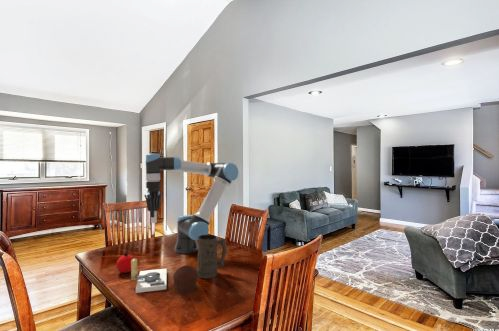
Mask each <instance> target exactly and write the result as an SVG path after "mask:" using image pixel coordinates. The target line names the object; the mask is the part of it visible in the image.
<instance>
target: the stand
mask: <svg viewBox="0 0 499 331" xmlns="http://www.w3.org/2000/svg"><path fill="white" fill-rule="evenodd" d="M151 272H158V273H160V279H158V280H156V281H152V282H147V281H145V280H144V278H143V279H137V282H136V285H135V294H138V293H146V292H154V291H155V292H157V291H163V290H167V280H168V279H167V268H158V269H157V268H156V269H149V270H140V271H139V274H138V276H139V275H146V274H148V273H151Z"/></svg>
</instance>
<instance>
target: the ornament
mask: <svg viewBox="0 0 499 331" xmlns="http://www.w3.org/2000/svg"><path fill="white" fill-rule="evenodd" d="M132 259H135V257H134V256H133V255H131V254H129V252H124V253H123V255H121V256H120V257H119V258H118V259H117V261H116V269H117V270H118V271H119V272H120V273H124V274H125V273H126V274H127V273H130V272H131V260H132Z"/></svg>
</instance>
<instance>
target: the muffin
mask: <svg viewBox="0 0 499 331" xmlns="http://www.w3.org/2000/svg"><path fill="white" fill-rule="evenodd" d="M172 276H173V282H174V287H175V291H176V292H177V293H178V294H183V295H184V294H191V293H192V292H194V291H195V289H197V283H198V282H197V281H198V278H199V277H198V272H197V268H194V267H193V266H191V265H183V266H179V268H178V269H176V271H175V272H174V273H173V275H172Z"/></svg>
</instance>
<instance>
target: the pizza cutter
mask: <svg viewBox="0 0 499 331" xmlns="http://www.w3.org/2000/svg"><path fill="white" fill-rule="evenodd" d="M143 278H144V280H145V281H147V282H152V281H156V280H158V279H160V273H158V272H151V273H148V274H146V275H139V274H138V259H137V258H134V259H132V260H131V271H130V281H135V280H138V279H143Z"/></svg>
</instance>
